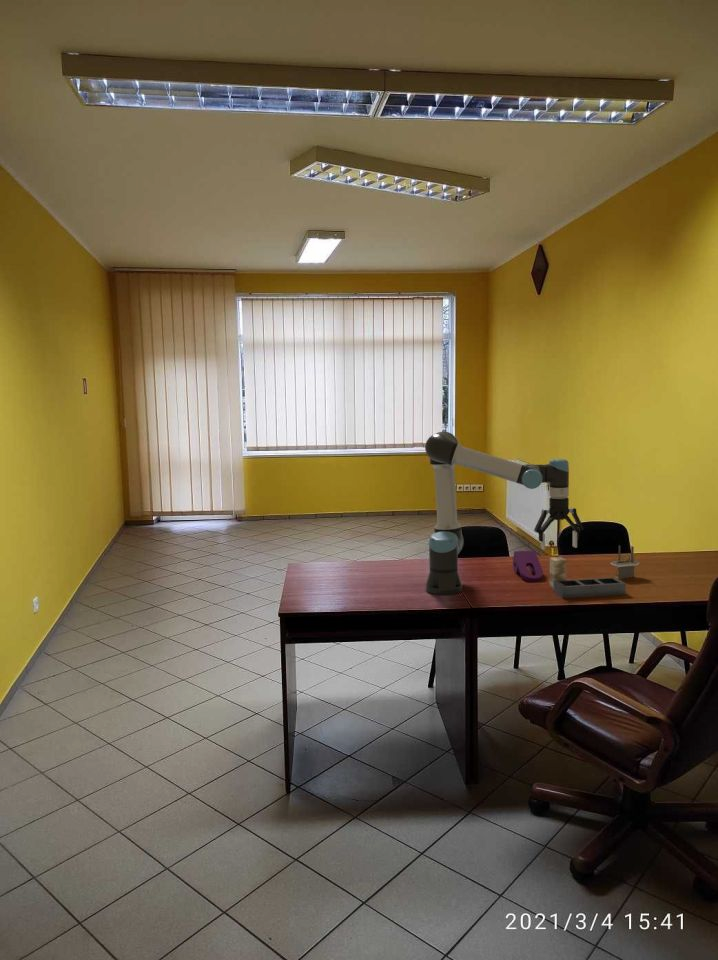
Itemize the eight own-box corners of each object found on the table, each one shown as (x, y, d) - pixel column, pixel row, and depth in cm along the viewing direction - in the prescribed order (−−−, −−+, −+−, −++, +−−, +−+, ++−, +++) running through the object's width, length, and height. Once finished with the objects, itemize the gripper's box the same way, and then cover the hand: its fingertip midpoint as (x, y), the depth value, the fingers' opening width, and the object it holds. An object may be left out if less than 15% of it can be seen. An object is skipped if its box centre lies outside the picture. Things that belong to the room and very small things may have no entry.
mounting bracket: (542, 592, 287) (532, 564, 302) (545, 577, 282) (535, 550, 297) (520, 592, 287) (512, 565, 302) (523, 578, 282) (514, 551, 297)
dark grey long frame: (562, 598, 260) (562, 587, 259) (553, 591, 269) (553, 580, 268) (625, 594, 262) (625, 583, 262) (614, 587, 271) (614, 577, 271)
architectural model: (584, 575, 291) (584, 544, 289) (629, 568, 300) (630, 538, 298) (617, 588, 272) (618, 555, 270) (665, 580, 280) (666, 548, 278)
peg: (554, 589, 272) (554, 560, 270) (549, 585, 277) (549, 557, 275) (565, 588, 272) (566, 560, 271) (560, 584, 277) (561, 557, 276)
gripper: (532, 500, 264) (532, 552, 267) (592, 496, 267) (592, 548, 270) (526, 497, 272) (526, 547, 275) (584, 494, 274) (583, 544, 277)
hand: (558, 548), depth 272 cm, fingers open, 13 cm apart
